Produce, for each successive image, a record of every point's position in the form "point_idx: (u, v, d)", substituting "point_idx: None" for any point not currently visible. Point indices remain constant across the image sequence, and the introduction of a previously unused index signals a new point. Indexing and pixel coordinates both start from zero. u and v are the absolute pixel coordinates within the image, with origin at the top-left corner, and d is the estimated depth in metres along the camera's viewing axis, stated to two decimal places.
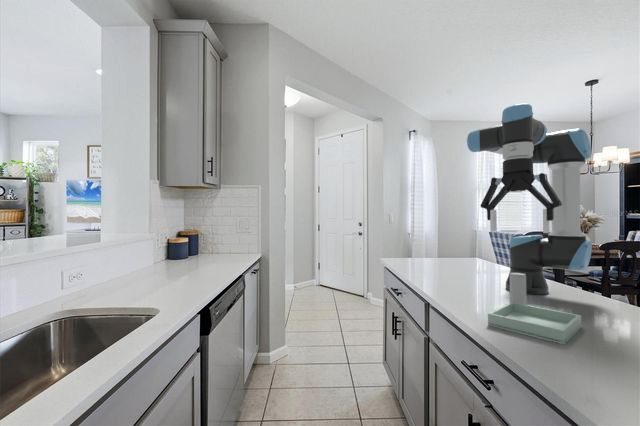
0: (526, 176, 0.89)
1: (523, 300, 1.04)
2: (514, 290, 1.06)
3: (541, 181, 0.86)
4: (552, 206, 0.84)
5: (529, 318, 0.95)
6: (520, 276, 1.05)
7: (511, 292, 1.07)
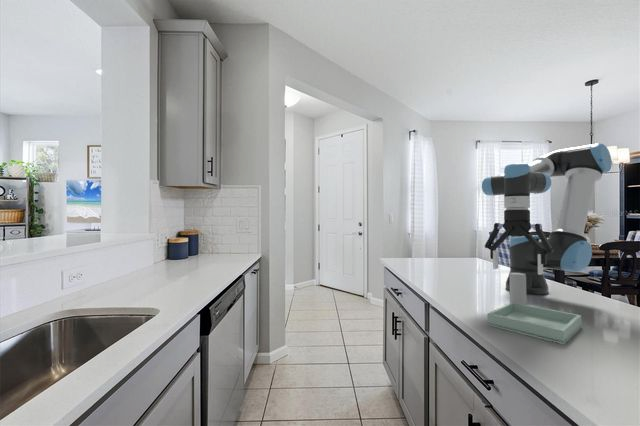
0: (524, 225, 1.04)
1: (523, 300, 1.04)
2: (514, 290, 1.06)
3: (536, 230, 1.01)
4: (545, 252, 1.00)
5: (529, 318, 0.95)
6: (520, 276, 1.05)
7: (511, 292, 1.07)
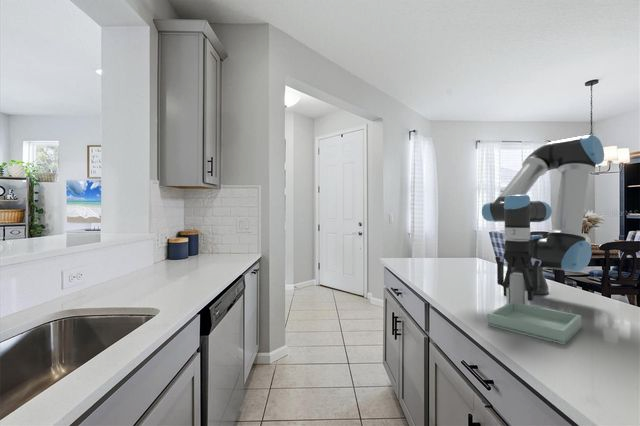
0: (525, 256, 1.04)
1: (523, 300, 1.04)
2: (514, 290, 1.06)
3: (534, 266, 1.02)
4: (532, 289, 1.03)
5: (529, 318, 0.95)
6: (520, 276, 1.05)
7: (511, 292, 1.07)
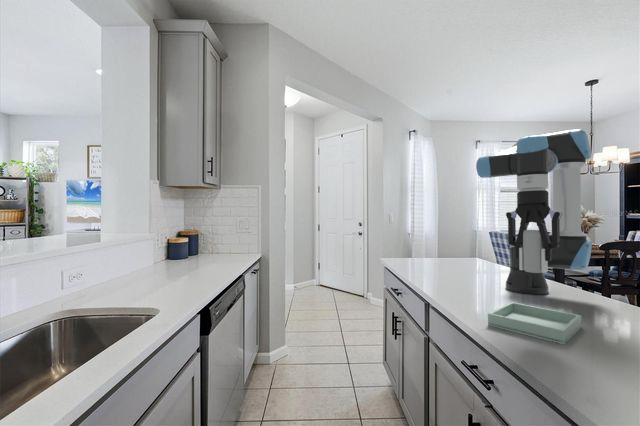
0: (542, 208, 0.88)
1: (540, 260, 0.88)
2: (528, 249, 0.89)
3: (553, 219, 0.86)
4: (550, 247, 0.87)
5: (529, 318, 0.95)
6: (536, 232, 0.88)
7: (525, 251, 0.90)
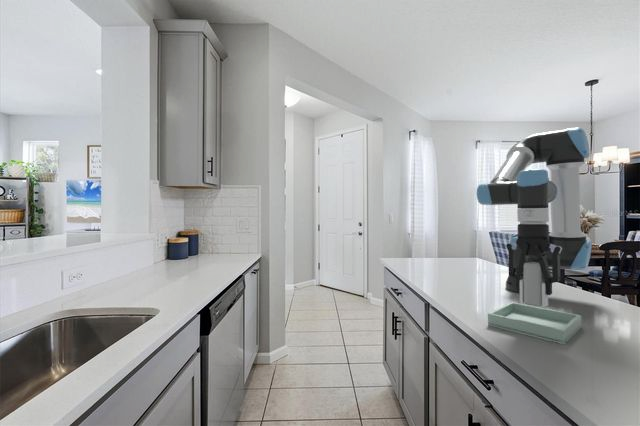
0: (543, 242, 0.88)
1: (540, 294, 0.88)
2: (529, 283, 0.89)
3: (553, 254, 0.86)
4: (551, 281, 0.86)
5: (529, 318, 0.95)
6: (536, 266, 0.88)
7: (525, 284, 0.90)
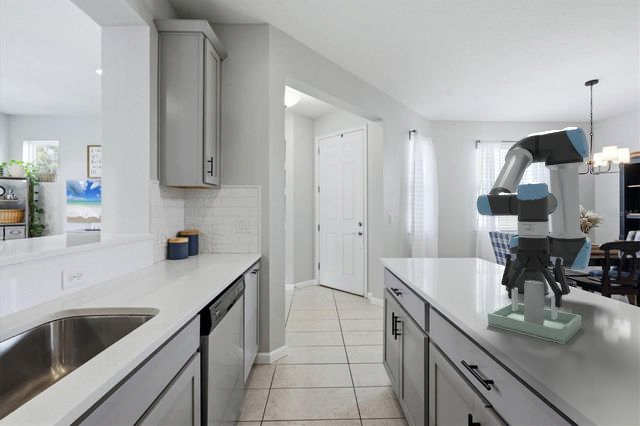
0: (542, 255, 0.88)
1: (541, 313, 0.88)
2: (529, 302, 0.89)
3: (556, 266, 0.85)
4: (560, 294, 0.85)
5: None
6: (537, 285, 0.88)
7: (526, 303, 0.90)
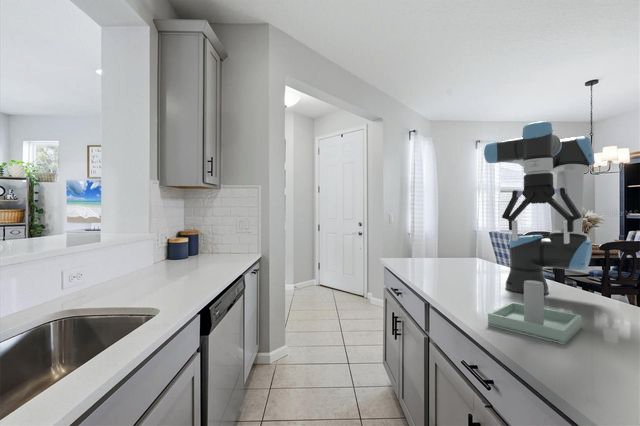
0: (547, 190, 0.94)
1: (540, 313, 0.88)
2: (529, 302, 0.89)
3: (561, 195, 0.91)
4: (572, 219, 0.90)
5: None
6: (537, 285, 0.88)
7: (526, 303, 0.90)
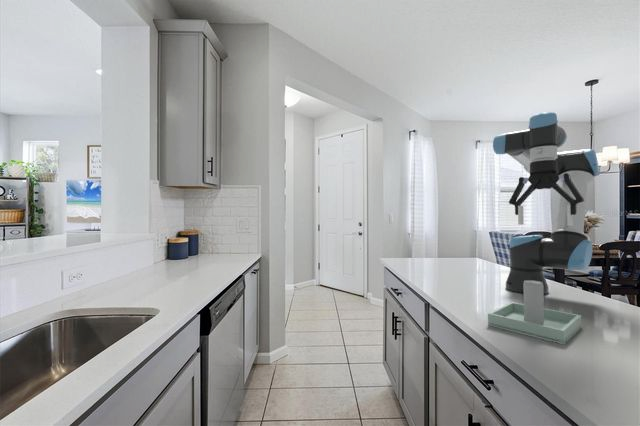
0: (551, 176, 1.01)
1: (540, 313, 0.88)
2: (529, 302, 0.89)
3: (565, 180, 0.98)
4: (575, 202, 0.96)
5: None
6: (536, 285, 0.88)
7: (525, 303, 0.90)
